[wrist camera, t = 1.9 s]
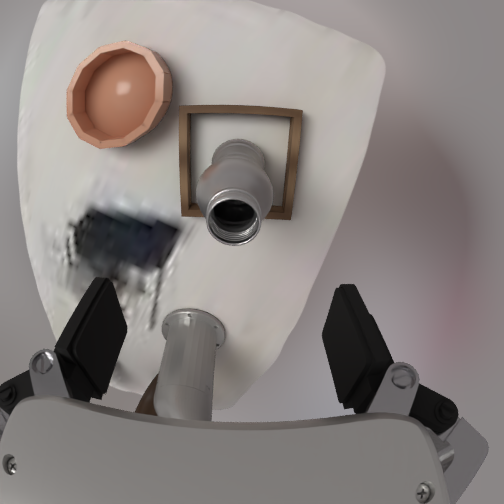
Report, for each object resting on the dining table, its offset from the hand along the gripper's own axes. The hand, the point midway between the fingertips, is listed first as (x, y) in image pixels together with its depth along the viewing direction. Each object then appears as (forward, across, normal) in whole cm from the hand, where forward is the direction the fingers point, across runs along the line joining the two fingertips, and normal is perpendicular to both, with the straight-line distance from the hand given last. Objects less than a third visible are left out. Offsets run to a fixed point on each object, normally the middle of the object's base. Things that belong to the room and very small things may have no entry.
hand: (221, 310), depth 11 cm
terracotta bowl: (+28, +16, -10) cm, 34 cm away
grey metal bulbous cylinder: (+29, 0, 0) cm, 29 cm away
